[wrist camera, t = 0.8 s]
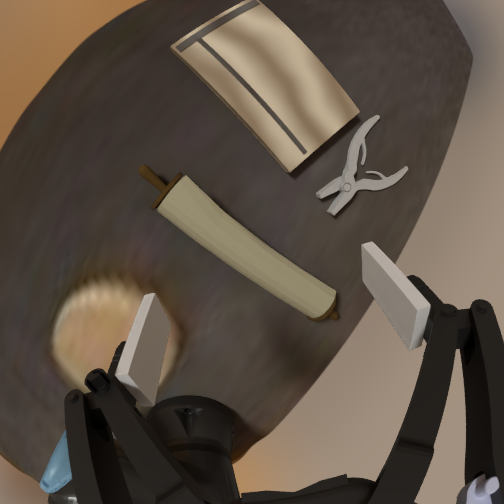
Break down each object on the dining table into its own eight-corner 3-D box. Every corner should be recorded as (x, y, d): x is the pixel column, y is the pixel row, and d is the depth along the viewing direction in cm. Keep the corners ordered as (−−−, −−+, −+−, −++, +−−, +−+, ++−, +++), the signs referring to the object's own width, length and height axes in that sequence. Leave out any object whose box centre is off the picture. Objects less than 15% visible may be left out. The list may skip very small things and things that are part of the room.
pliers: (412, 170, 35) (345, 234, 36) (406, 170, 37) (339, 232, 37) (381, 112, 32) (304, 174, 32) (374, 114, 33) (299, 173, 34)
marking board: (286, 172, 33) (290, 172, 32) (171, 51, 26) (170, 46, 24) (354, 113, 32) (360, 111, 31) (251, 1, 25) (253, -4, 24)
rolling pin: (129, 187, 30) (119, 189, 25) (158, 148, 30) (152, 144, 25) (318, 324, 41) (332, 342, 36) (342, 296, 40) (359, 311, 35)
